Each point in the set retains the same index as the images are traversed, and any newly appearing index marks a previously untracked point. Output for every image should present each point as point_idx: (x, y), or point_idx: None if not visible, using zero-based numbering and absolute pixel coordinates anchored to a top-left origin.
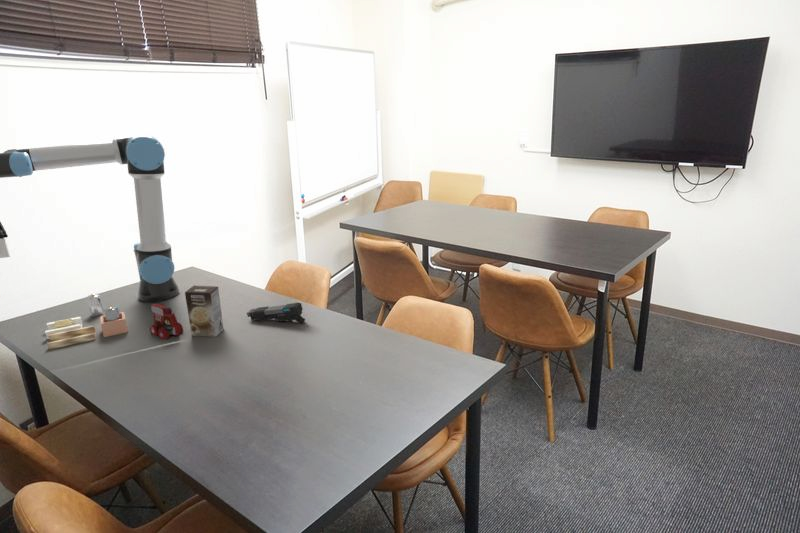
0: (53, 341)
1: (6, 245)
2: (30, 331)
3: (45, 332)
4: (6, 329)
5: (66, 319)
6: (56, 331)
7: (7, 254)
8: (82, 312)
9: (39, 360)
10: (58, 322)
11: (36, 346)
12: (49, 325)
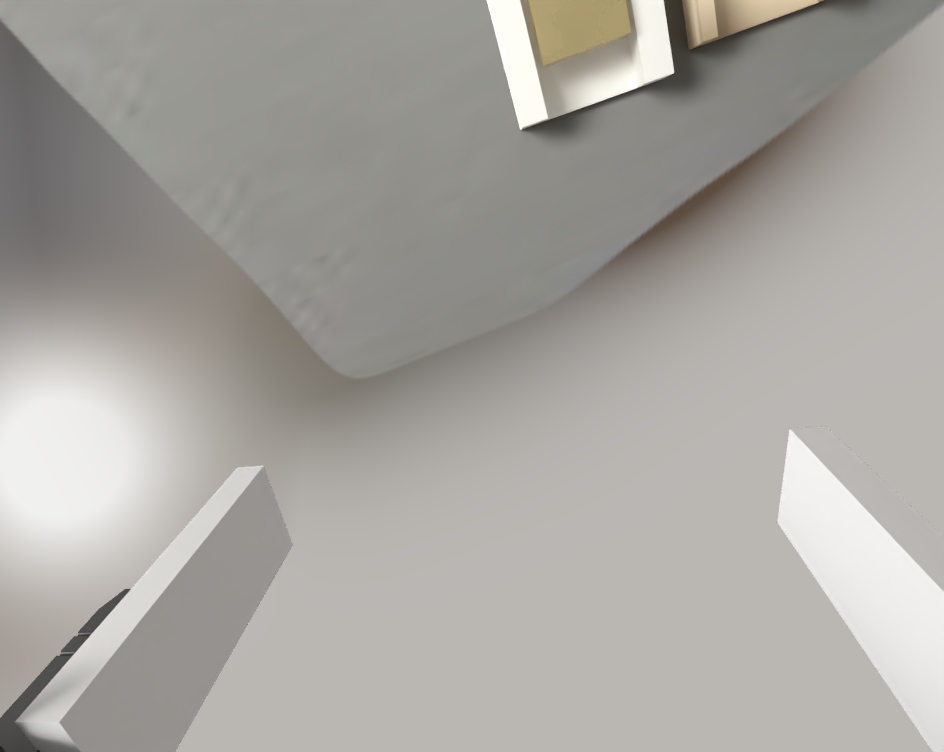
0: (720, 17)
1: (147, 587)
2: (498, 228)
3: (673, 71)
4: (442, 349)
5: (497, 16)
6: (661, 12)
7: (250, 499)
8: (285, 32)
9: (938, 4)
10: (563, 34)
11: (718, 110)
12: (543, 105)
